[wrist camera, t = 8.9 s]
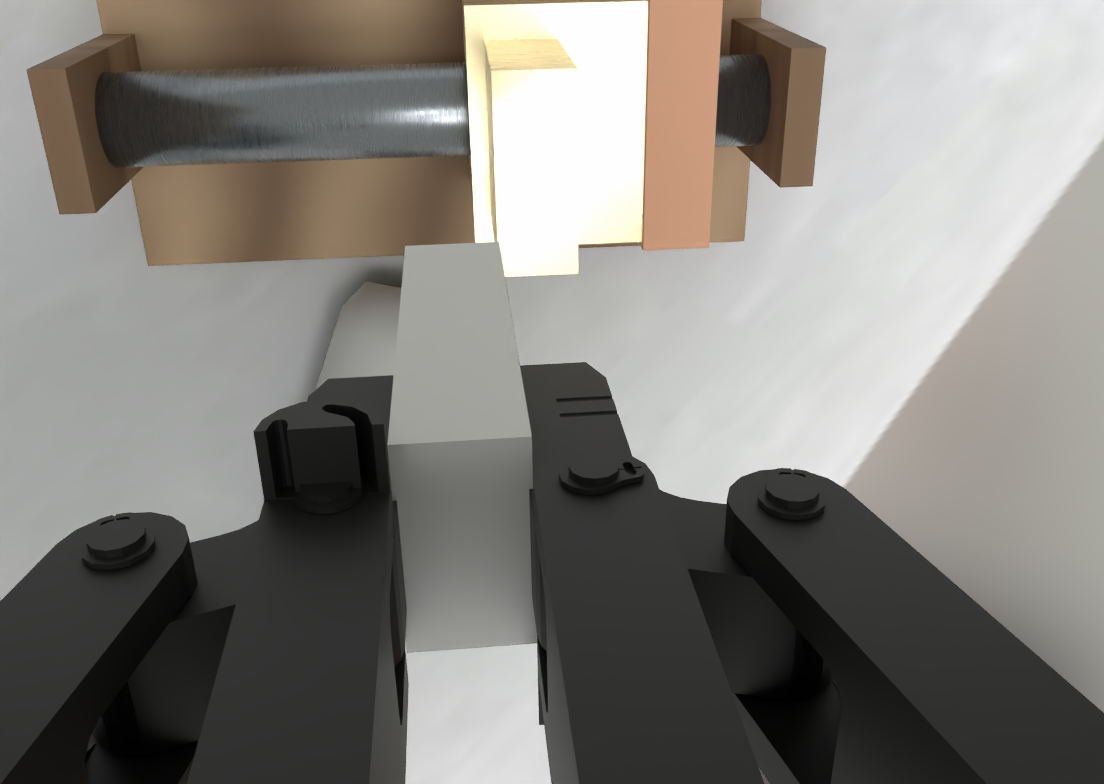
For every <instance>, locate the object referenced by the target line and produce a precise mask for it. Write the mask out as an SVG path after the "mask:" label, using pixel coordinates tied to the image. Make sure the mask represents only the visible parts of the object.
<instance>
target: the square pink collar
mask: <svg viewBox="0 0 1104 784" xmlns="http://www.w3.org/2000/svg"><path fill="white" fill-rule="evenodd" d="M647 1H649V7H648V45H647V83H646V120H645V158H644V196H643V233H642V242H639V243H640V245H641V247H642V249H643V250H664V249H688V248H709V239H710V221H711V203H712V186H713V168H714V150H715V132H716V114H717V97H718V79H719V61H720V43H721V25H722V8H723V0H647Z"/></svg>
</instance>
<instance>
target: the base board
mask: <svg viewBox="0 0 1104 784" xmlns="http://www.w3.org/2000/svg"><path fill="white" fill-rule="evenodd" d="M97 5H98V10H99V16H100V21H101V26H102V31H103V35H101V36H99V37H97V38H94V39H92V40H90V41H88V42H86V43H84V44H81V45H79V46H77V47H75V48H73V49H70V50H68V51H66V52H64V53H62V54H60V55H57V56H55V57H53V58H51V59H49V60H47V61H44V62H42V63H40V64H38V65H36V66H34V67H31V68H29V69H27V74H28V78H29V82H30V87H31V91H32V96H33V100H34V104H35V109H36V113H37V117H38V122H39V126H40V131H41V135H42V139H43V144H44V148H45V152H46V157H47V161H48V166H49V170H50V174H51V179H52V183H53V187H54V192H55V196H56V200H57V205H58V209H59V214H83V213H96V212H97V211H98V210H99V209H100V208H101V207H103V206H104V205H105V204H106V203H107V202H108V201H109V200H110V199H111V198H112V197H113V196H114V195H115V194H116V193H117V192H118V191H119V190H120V189H121V188H122V187H123V186H124V185H125V184H126V183H128V182H129V181H130V180H132V185H133V191H134V196H135V201H136V206H137V211H138V216H139V221H140V227H141V232H142V237H143V242H144V247H145V252H146V257H147V263H148V266H155V265H179V264H203V263H228V262H252V261H276V260H300V259H324V258H348V257H372V256H397V255H404V253H405V246H413V245H437V244H460V243H475V235H474V223H473V210H472V197H471V182H470V161H469V156H441V157H412V158H383V159H354V160H325V161H296V162H267V163H238V164H209V165H180V166H151V167H122V168H117V167H114V166H113V165H112V164H111V163H110V162H109V160H108V159H107V157H106V155H105V152H104V150H103V147H102V144H101V141H100V137H99V133H98V128H97V122H96V113H95V90H96V84H97V80H98V78H99V76H100V74H102V73H104V72H133V71H169V70H205V69H241V68H277V67H313V66H349V65H385V64H421V63H457V62H465V57H464V36H463V16H462V0H97ZM760 13H761V0H723V8H722V25H721V43H720V55H745V54H761V55H763V56H764V58H765V60H766V62H767V65H768V69H769V74H770V83H771V109H770V118H769V124H768V129H767V133H766V136H765V138H764V140H763V142H762V143H761V144H760V145H758V146H731V147H715V150H714V168H713V186H712V203H711V221H710V239H709V243H710V242H735V241H744V237H745V223H746V209H747V195H748V181H749V167H750V160H751V161H752V162H753V163H754V164H755V165H757V166H758V167H759V168H760V169H761V170H762V171H763V172H764V173H765V174H766V175H767V176H768V177H769V178H770V179H772V180H773V181H774V182H775V183H776V184H777V185H778V186H779V187H802V186H812V185H813V175H814V165H815V155H816V145H817V135H818V125H819V115H820V105H821V95H822V85H823V75H824V64H825V54H826V47H823V46H821V45H819V44H817V43H815V42H812V41H810V40H808V39H806V38H803V37H801V36H799V35H797V34H795V33H792V32H790V31H788V30H786V29H783V28H781V27H779V26H777V25H775V24H772V23H770V22H768V21H766V20H764V19H761V18H760ZM638 245H640V243H639V242H627V243H603V244H579V245H578V248H590V247H614V246H638Z"/></svg>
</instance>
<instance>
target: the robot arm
mask: <svg viewBox="0 0 1104 784" xmlns="http://www.w3.org/2000/svg"><path fill="white" fill-rule="evenodd" d="M254 437H255V443H256V450H257V456H258V462H259V469H260V475H261V481H262V488H263V494H264V504H263V507H262V511H261V515H260V518H259V520H258V521H257V522H255V523H252V524H250V525H248V526H246V527H244V528H242V529H239V530H236V531H233V532H230V533H227V534H223V535H220V536H216V537H212V538H208V539H204V540H200V541H196V542H192V543H190V541H189V537H188V534H187V530H186V527H185V525H184V524H182V523H181V522H179V521H178V520H176V519H175V518H173V517H172V516H167V515H162V514H157V513H152V512H146V513H122V514H116V516H113V515H111V516H108V517H104V518H101V519H99V520H97V521H95V522H93V523H91V524H88V525H86V526H84V527H81V528H79V529H77V530H75V531H74V532H72V533H71V534H70V535H68V536H67V537H66V538H64V539H63V540H62V541H60V542H59V543H58V544H56V545H55V546H54V547H53V549H52V550H51V551H50V552H49V553H48V554H47V555H46V556H45V557H44V558H43V559H42V560H41V561H40V562H39V563H38V564H37V565H36V566H35V567H34V568H33V569H32V570H31V571H30V572H29V573H28V574H27V575H26V576H25V577H24V578H23V579H22V580H21V581H20V582H19V583H18V584H17V585H16V586H15V587H14V588H13V589H12V590H11V591H10V592H9V593H8V594H7V595H6V596H5V597H4V598H3V599H2V600H1V601H0V784H405V773H406V742H407V712H408V674H407V663H406V653H405V636H406V647H407V653H411V652H424V651H437V650H451V649H464V648H478V647H491V646H504V645H518V644H531V643H537V653H538V694H539V725H544V726H545V734H546V742H547V750H548V759H549V767H550V775H551V783H552V784H764V782H763V779H762V776H761V773H760V770H761V771H762V773H763V774H764V775H765V777H766V778H767V780H768V781H769V783H770V784H1104V713H1103V712H1102V711H1101V710H1100V709H1098V708H1097V707H1096V706H1095V705H1094V704H1092V702H1090V701H1089V700H1088V699H1087V698H1086V697H1085V696H1083V695H1082V694H1081V693H1080V692H1079V691H1078V690H1077V689H1075V688H1074V687H1073V686H1072V685H1071V684H1070V683H1069V682H1067V681H1066V680H1065V679H1064V678H1063V677H1062V676H1060V675H1059V674H1058V673H1057V672H1056V671H1055V670H1054V669H1052V668H1051V667H1050V666H1049V665H1047V664H1046V663H1045V662H1044V661H1043V660H1042V659H1041V658H1040V657H1039V656H1037V655H1036V654H1035V653H1034V652H1033V651H1031V650H1030V649H1029V648H1028V647H1027V646H1026V645H1024V643H1022V642H1021V641H1020V640H1019V639H1018V638H1017V637H1015V636H1014V635H1013V634H1012V633H1011V632H1009V630H1007V629H1006V628H1005V627H1004V626H1003V625H1002V624H1000V623H999V622H998V621H997V620H996V619H995V618H994V617H992V616H991V615H990V614H989V613H988V612H987V611H985V610H984V609H983V608H982V607H981V606H980V605H979V604H977V603H976V602H975V601H974V600H973V599H972V598H970V597H969V596H968V595H967V594H966V593H965V592H964V591H962V590H961V589H960V588H959V587H958V586H957V585H956V584H954V583H953V582H952V581H951V580H950V579H949V578H947V577H946V576H945V575H944V574H943V573H942V572H940V571H939V570H938V569H937V568H936V567H935V566H934V565H932V564H931V563H930V562H929V561H928V560H927V559H925V558H924V557H923V556H922V555H921V554H920V553H919V552H917V551H916V550H915V549H914V548H913V547H911V545H909V544H908V543H907V542H906V541H905V540H903V539H902V538H901V537H900V536H899V535H898V534H897V533H895V532H894V531H893V530H892V529H891V528H890V527H889V526H888V525H886V524H885V523H884V522H883V521H882V520H881V519H879V518H878V517H877V516H876V515H875V514H874V513H873V512H871V511H870V510H869V509H868V508H867V507H866V506H864V505H863V504H862V503H861V502H860V501H859V500H857V499H856V498H855V497H854V496H853V495H852V494H851V493H849V492H848V491H847V490H846V489H844V488H843V487H841V486H840V485H838V484H836V483H835V482H833V481H831V480H830V479H828V478H825V477H822V476H819V475H815V474H812V473H809V472H807V471H803V470H797V469H794V470H791V469H786V468H779V469H774V470H762V471H757V472H754V473H751V474H749V475H746V476H743V477H741V478H739V479H738V480H737V481H736V482H735V483H734V484H733V485H732V486H730V488H729V493H728V498H727V504H719V503H711V502H703V501H696V500H691V499H685V498H680V497H677V496H674V495H671V494H668V493H666V492H663V491H661V490H659V488H658V485H657V482H656V479H655V477H654V474H653V473H652V472H651V471H650V469H649V468H648V467H647V465H646V464H645V463H643V462H641V461H639V460H638V459H636V458H634V457H632V454H631V451H630V448H629V445H628V442H627V439H626V436H625V433H624V430H623V427H622V424H621V421H620V418H619V415H618V414H617V410H616V407H615V404H614V401H613V399H612V395H611V392H610V389H609V386H608V383H607V380H606V377H604V376H603V375H602V374H600V373H599V372H598V371H596V370H595V369H594V368H592V367H591V366H590V365H588V364H587V363H586V362H582V363H563V364H544V365H525V366H520V363H519V357H518V351H517V346H516V340H515V334H514V328H513V322H512V316H511V310H510V304H509V298H508V292H507V286H506V280H505V274H504V268H503V263H502V257H501V251H500V245H499V242H483V243H460V244H437V245H413V246H405V253H404V265H403V276H402V287H401V298H400V309H399V321H398V332H397V343H396V354H395V365H394V375H388V376H369V377H351V378H332V379H327V380H326V381H325V382H324V383H323V384H322V385H321V386H320V387H319V388H317V389H316V390H315V391H314V392H313V393H312V394H311V395H310V396H309V397H308V401H307V402H302V403H298V404H295V405H292V406H289V407H286V408H283V409H280V410H278V411H276V412H274V413H273V414H271V415H270V416H268V417H266V418H265V419H263V420H262V421H261V422H260V424H259V425H258V426H257V428H256V429H255V430H254ZM758 767H759V768H760V770H759V768H758Z"/></svg>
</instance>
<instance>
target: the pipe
mask: <svg viewBox="0 0 1104 784" xmlns="http://www.w3.org/2000/svg"><path fill="white" fill-rule="evenodd" d="M770 109H771V83H770V74H769V69H768V65H767V62H766V60H765V58H764V56H763V55H761V54H745V55H720V61H719V79H718V97H717V114H716V132H715V147H731V146H758V145H760V144H761V143H762V142H763V140H764V138H765V136H766V133H767V129H768V124H769V118H770ZM95 113H96V122H97V128H98V133H99V137H100V141H101V144H102V147H103V150H104V152H105V155H106V157H107V159H108V160H109V162H110V163H111V164H112V165H113V166H114V167H117V168H122V167H151V166H180V165H209V164H238V163H267V162H296V161H325V160H354V159H383V158H412V157H441V156H470V155H471V152H470V131H469V110H468V89H467V68H466V62H457V63H421V64H385V65H349V66H313V67H277V68H241V69H205V70H169V71H133V72H104V73H102V74H100V76H99V78H98V80H97V84H96V90H95Z"/></svg>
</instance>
